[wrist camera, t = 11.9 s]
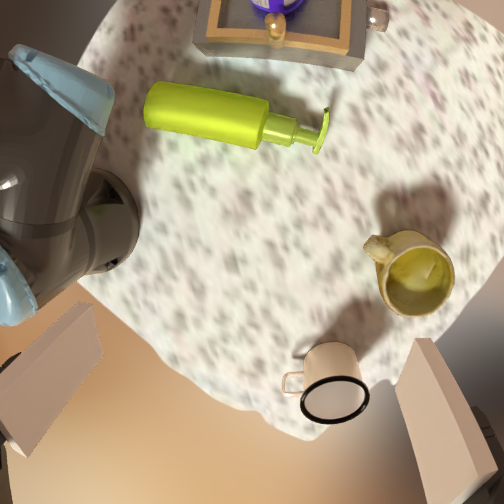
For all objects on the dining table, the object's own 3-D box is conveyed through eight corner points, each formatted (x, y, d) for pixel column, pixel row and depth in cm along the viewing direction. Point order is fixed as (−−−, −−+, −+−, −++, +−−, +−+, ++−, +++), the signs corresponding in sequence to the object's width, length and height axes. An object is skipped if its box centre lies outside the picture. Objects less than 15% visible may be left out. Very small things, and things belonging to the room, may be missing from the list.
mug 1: (361, 334, 43) (373, 374, 34) (358, 380, 46) (366, 420, 37) (280, 341, 45) (277, 382, 36) (285, 387, 48) (283, 428, 39)
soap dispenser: (167, 68, 32) (331, 103, 32) (163, 117, 37) (315, 152, 37) (144, 80, 28) (334, 119, 28) (142, 135, 33) (314, 175, 33)
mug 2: (460, 258, 35) (470, 296, 27) (406, 297, 42) (401, 340, 34) (407, 189, 36) (407, 211, 28) (353, 236, 42) (337, 268, 34)
